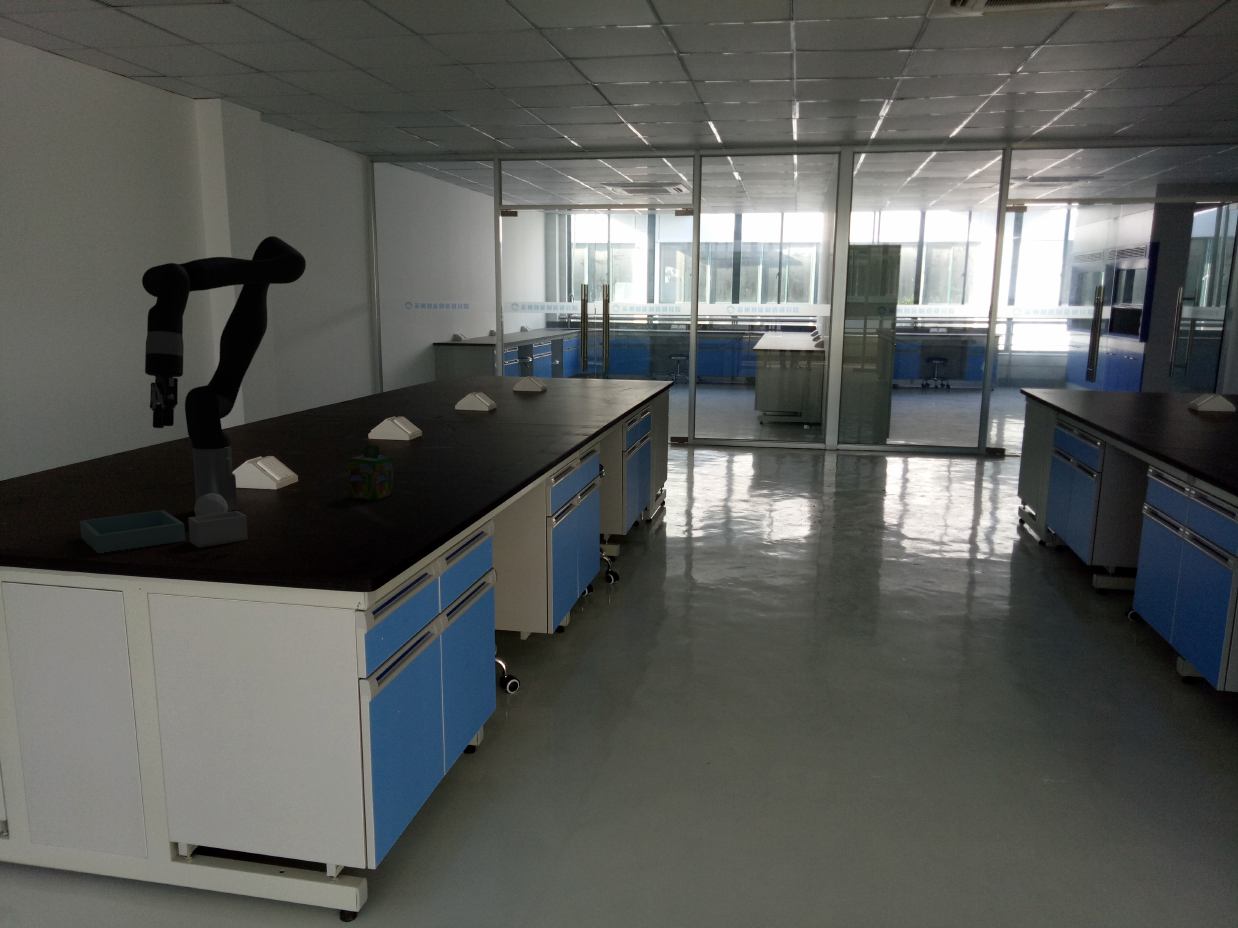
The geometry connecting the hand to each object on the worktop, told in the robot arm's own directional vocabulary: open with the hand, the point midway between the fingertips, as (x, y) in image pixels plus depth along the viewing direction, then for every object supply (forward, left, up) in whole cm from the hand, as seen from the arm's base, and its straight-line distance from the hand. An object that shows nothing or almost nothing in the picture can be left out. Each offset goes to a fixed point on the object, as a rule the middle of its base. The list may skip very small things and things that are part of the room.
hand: (162, 427), depth 197 cm
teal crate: (+5, -12, -28) cm, 31 cm away
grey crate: (-10, +1, -28) cm, 30 cm away
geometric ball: (-14, -17, -28) cm, 35 cm away
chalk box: (-59, -21, -28) cm, 68 cm away
